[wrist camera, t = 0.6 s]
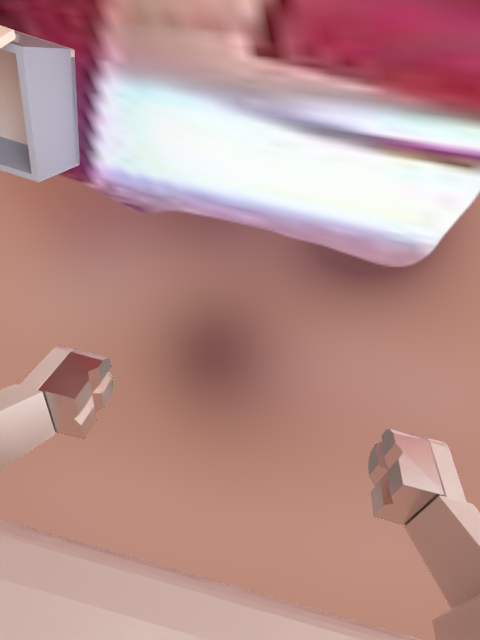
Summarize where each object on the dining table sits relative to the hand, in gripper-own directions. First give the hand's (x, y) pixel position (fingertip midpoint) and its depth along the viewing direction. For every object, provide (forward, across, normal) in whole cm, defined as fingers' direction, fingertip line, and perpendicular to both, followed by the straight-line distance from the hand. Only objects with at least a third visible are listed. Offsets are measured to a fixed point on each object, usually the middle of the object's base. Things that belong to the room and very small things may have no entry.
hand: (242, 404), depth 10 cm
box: (+43, +41, +2) cm, 60 cm away
